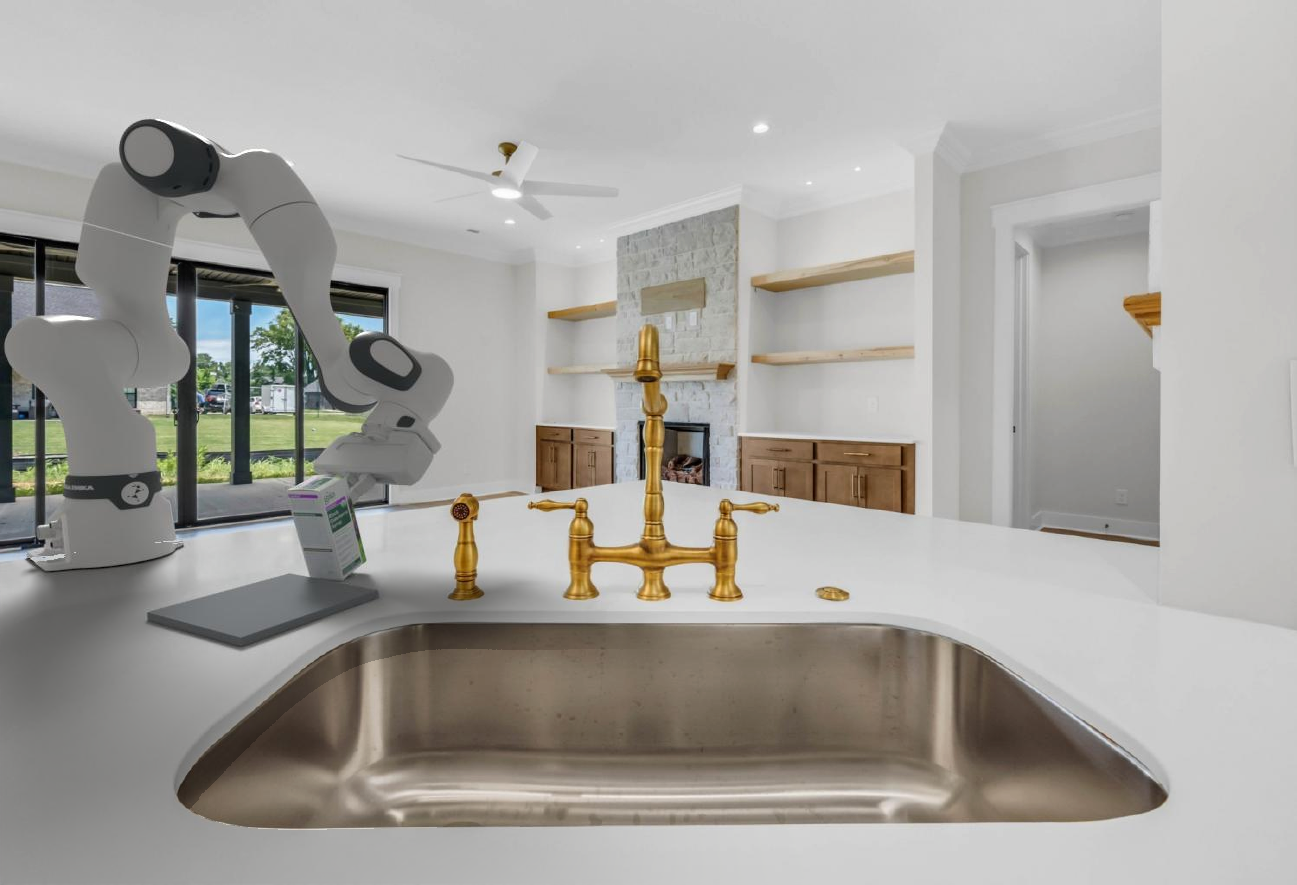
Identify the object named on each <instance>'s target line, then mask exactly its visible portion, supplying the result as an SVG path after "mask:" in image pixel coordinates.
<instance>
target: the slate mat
mask: <svg viewBox="0 0 1297 885" xmlns="http://www.w3.org/2000/svg"><path fill="white" fill-rule="evenodd" d="M375 599H379V590H378V589H375V588H369V587H368V588H367V587H365V586H360V585H358V586H357V585H353V584H348V583H342V582H337V581H334V580H322V579H317V578H312V577H310V576H306V575H301V574H295V573H289V572H288V573H286V574H283V575H279V576H275V577H272V578H268V579H264V580H261V581H260V580H259V581H257V582H256V581H255V582H252V583H249V584H246V585H242V586H238V587H234V588H230V589H227V590H226V589H225V590H224V591H219V592H216V593H212V594H208V595H205V596H201V597H198V598H194V599H190V600H186V601H183V602H179V603H175V604H172V605H168V606H165V607H160V608H157V609H153V610H150V611H147V612H146V619H147V620H146V621H149V622H153V623H156V624H160V625H163V626H166V627H170V628H174V629H177V630H182V631H184V632H187V633H192V634H195V635H199V636H202V637H206V638H208V639H209V638H210V639H212V640H216V641H220V642H224V643H227V644H230V645H233V646H239V647H241V648H242V647H244V646H247V645H250V644H252V643H253V644H254V643H256V642H258V641H261V640H263V639H267V638H269V637H272V636H275V635H278V634H280V633H283V632H286V631H288V630H289V631H290V630H292V629H295V628H297V627H300V626H302V625H303V626H304V625H305V624H309V623H311V622H313V621H316V620H319V619H323V618H325V617H328V616H330V615H333V614H336V613H338V612H342V611H344V610H347V609H350V608H352V607H356V606H359V605H361V604H364V603H367V602H370V601H373V600H375Z"/></svg>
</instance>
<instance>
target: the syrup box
mask: <svg viewBox="0 0 1297 885" xmlns="http://www.w3.org/2000/svg"><path fill="white" fill-rule="evenodd" d="M285 494H286V498H287V501H288V505H289V509H290V512H291V516H292V520H293V523H294V526H295V529H296V534H297V537H298V540H299V543H300V547H301V550H302V553H303V554H302V555H303V558H304V561H305V566H306V568H307V572H308V575H309V576H308V577H312V578H317V579H322V580H328V581H335V582H337V581H339V582H343V581H345V579H346V578H348V576H350V575H351V574H352V573H353V572H354V571H356V570H357V569H358V568H360V567H361V566H362V565H364V564H365V563H366V562H367V556H366V553H365V549H364V545H363V541H362V537H361V532H360V528H359V524H358V520H357V517H356V516H357V515H356V512H355V508H354V504H353V503H352V499H351V495H350V491H349V487H348V483H347V479H346V477H345V476H338V475H318V474H317V475H315V474H314V475H313V476H311V477H310V478H308V479H306V480H304V481H303V482H301V483H299V484H297V485H295V486H293V487H291V488H289V489H286V491H285Z"/></svg>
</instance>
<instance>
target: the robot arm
mask: <svg viewBox="0 0 1297 885" xmlns="http://www.w3.org/2000/svg"><path fill="white" fill-rule="evenodd" d="M118 151H119V152H118V154H119V159H120V161H113V162H110V163H107V164H105V165H104V166H103V167H102V168H101V170H100V171H99V173H98V175H97V177H96V179H95V182H94V183H93V186H92V189H91V190H90V194H89V197H88V199H87V204H86V207H85V210H84V215H83V219H82V220H83V221H82V222H83V223H82V226H81V231H80V237H79V243H78V249H77V254H76V260H75V266H74V268H75V273H76V276H77V278H78V279H79V280H80V281H81V282H82V283H83V284H84V285H85V286H86V287H88V288H89V289H90V290H92V291H93V292H94V293H95V295H96V297H97V299H98V301H99V303H98V304H99V307H100V318H96V317H95V318H94V317H89V316H88V317H87V316H80V315H71V314H48V315H46V314H45V315H33V316H27V317H24V318H21V319H19V320H18V321H17V322H15V323H14V324H13V325H12V326H11V328H10V329H9V330H8V332H7V335H6V337H5V341H4V353H5V357H6V358H7V359H6V360H7V361H8V363H9V365H10V366H11V368H12V369H13V370H14V371H15V372H16V373H17V374H18V375H19V376H20V377H21V378H22V379H23V378H24V379H25V380H26V381H28V382H30V383H31V384H33V385H34V386H35V387H36V388H38V389H39V390H40V391H41V392H42V393H43V395H44V396H45V397H46V398H47V399H48V401H49V402H50V403H51V405H52V406H53V408H54V410H55V411H56V413H57V415H58V417H59V420H60V423H61V425H62V429H63V432H64V439H65V447H66V456H67V467H68V474H67V475H66V476H65V477H64V482H63V487H62V488H63V493H62V497H64V498H63V501H62V503H60V504H59V506H58V507H57V508H56V509H55V510H54V512H52V514H51V515H50V516H49V517H48V518H47V519H46V520H45V524H40V525H37V526H36V536H37V539H38V540H39V541H43V540H45V541H44V542H45V546H42V547H38V548H35V549H31V550H28V551H26V558H27V559H28V558H32V557H39V556H54V555H58V554H65V555H64V556H65V557H64V558H58V559H54V560H47V561H38V562H35V563H34V564H35V565H36V566H38V567H39V568H41V569H42V570H43V571H45V572H51V571H62V570H72V569H87V568H88V569H89V568H102V567H104V568H105V567H113V566H119V565H127V564H133V563H138V562H142V561H143V562H144V561H147V560H148V561H149V560H153V559H156V558H160V557H163V556H167V555H169V554H171V553H172V552H174V551H175V550H176V549H178V548H181V547H182V545H183V546H185V542H184V543H179V542H183V541H184V540H183V541H178V542H163V541H174V540H179V539H180V538H177V535H176V529H175V528H176V527H175V521H174V516H173V510H172V509H173V508H172V503H171V501H170V500H169V499H167V498H165V497H164V496H163V495H162V493H161V491H162V490H163V477H162V471H161V470H160V469H158V468H159V467H158V455H157V453H158V452H157V435H156V432H157V431H156V428H155V425H154V424H153V422H152V421H151V419H149V418H148V417H146V416H145V415H143V414H141V413H139V412H137V411H136V410H135V408H133V405H131V403H130V402H129V400H128V398H127V396H126V393H125V389H152V388H158V387H162V386H166V385H170V384H171V385H172V384H174V383H175V384H176V383H177V382H179V381H180V380H182V379H183V378H184V377H185V376H186V374H187V373H188V371H189V369H190V365H191V353H190V349H189V347H188V345H187V343H186V341H185V340H184V339H183V338H182V337H181V336H180V335H179V334H178V333H177V331H176V329H175V328H174V325H173V323H172V320H171V317H170V313H169V309H168V308H169V307H168V302H167V286H168V279H169V272H170V265H171V260H172V253H173V249H174V248H173V247H174V244H175V236H176V230H177V227H178V224H179V222H180V221H181V220H182V218H183V217H184V216H186V215H188V214H193V215H194V216H195V217H196V218H199V219H238V218H241V219H242V220H243V223H244V225H245V226H246V228H247V229H248V231H249V232H250V235H251V237H253V240H254V241H255V243H256V245H257V246H258V248H259V249H260V252H261V254H262V255H263V257H264V258H265V260H266V263H267V265H268V266H269V268H270V271H271V272H272V275H273V276H274V279H275V281H276V284H277V286H278V288H279V290H280V292H281V295H282V297H283V300H284V302H285V305H286V308H287V309H288V311H289V313H290V315H291V317H292V319H293V321H294V324H295V326H296V327H297V329H298V331H299V333H300V335H301V336H302V340H303V341H304V343H305V345H306V346H307V349H308V351H309V353H310V356H311V357H312V359H313V361H314V364H315V366H316V371H317V378H318V385H319V386H318V387H319V390H320V392H321V395H322V396H323V398H324V399H325V400H326V401H327V403H328V404H330V405H331V407H334V408H335V409H336V410H339V411H341V412H343V413H347V414H357V415H358V414H363V413H366V412H369V411H371V410H372V411H371V413H370V414H369V416H367V418H366V419H365V421H364V422H363V423H362V425H360V426H361V427H360V430H361V432H357V431H351V432H350V433H349V434H343V435H340V436H338V437H337V438H335V439H334V440H333V441H332V442H331V443H330V444H329V445H328V446H327V447H326V448H325V449H323V451H322V452H321V454H320V455H319V456H318V457H317V458H316V459H315V461H314V462H313V465H312V469H313V470H314V472H315V473H316V474H317V475H338V476H345V477H346V479H347V483H348V487H349V491H350V495H351V499H352V503H353V505H355V504H356V503H357V502H358V500H359V499H360V498H361V497H362V496H363V495H365V494H366V493H367V492H369V491H370V490H372V489H374V486H375V485H377V484H379V485H390V486H391V485H392V486H393V485H394V486H408V487H411V486H414V485H416V483H418V482H419V481H421V479H422V478H423V477H424V475H425V474H426V473H427V471H428V469H429V467H430V466H431V464H432V462H433V460H434V458H435V457H434V455H436V454H438V452H439V451H440V449H441V448H442V444H441V443H440V442H439V440H438V439H437V437H436V435H435V434H434V433H433V432H432V431H431V429H429V425H430V423H431V422H432V421H433V420H434V419H436V418H437V417H438V415H439V414H440V413H441V411H442V409H443V408H444V406H445V405H446V403H447V401H448V399H449V397H450V395H451V393H452V390H453V389H454V388H453V387H454V384H455V377H454V371H453V369H452V368H451V366H450V365H449V363H448V362H447V361H446V360H445V359H443V357H441V356H440V355H438V354H436V353H434V352H430V351H419V350H416V349H413V348H410V347H408V346H406V345H404V344H401V343H400V342H399V341H398V340H397V339H396V338H394V337H393V336H391V335H389V334H387V333H384V332H381V331H378V330H367V331H363V332H361V333H359V334H357V335H355V336H354V338H352V339H351V341H350V342H349V340H348V339H347V336H346V335H345V333H344V331H343V328H342V327H341V325H340V322H339V320H338V319H337V316H336V315H335V312H334V309H333V307H332V303H331V295H330V294H331V292H330V291H331V280H332V276H333V270H334V267H335V262H336V259H337V253H338V246H337V242H336V239H335V236H334V233H333V230H332V227H331V225H330V223H329V221H328V219H327V218H326V216H325V215H324V213H323V211H322V209H321V207H320V206H319V204H318V202H317V201H316V199H315V198H314V196H313V194H312V193H311V192H310V191H309V189H308V187H307V186H306V185H305V183H304V181H303V180H302V179H301V178H300V177H299V176H298V174H297V173H296V172H295V171H294V169H293V168H292V166H290V164H288V163H287V162H286V160H285V159H284V158H283V157H281V156H280V155H278V154H277V153H275V152H273V151H270V150H267V149H250V150H249V149H248V150H245V151H243V152H241V153H238V154H233V153H232V152H230V151H229V149H227V148H224V147H223V146H222V145H220V144H219V143H217V142H215V141H213V140H212V139H211V138H210V139H209V138H206V137H203V136H201V135H199V134H196V133H194V132H192V131H190V130H189V129H188V128H186V127H183V126H181V125H179V124H177V123H174V122H170V121H166V120H162V119H157V118H156V119H154V118H145V119H139V120H138V121H135V122H133V123H132V124H130V125H129V126H128V127H127V128H126V129H125V130H124V131H123V133H122V135H121V137H120V141H119V147H118ZM155 542H161V543H155ZM173 543H178V544H173ZM74 552H76V553H74ZM43 558H45V557H43Z"/></svg>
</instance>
